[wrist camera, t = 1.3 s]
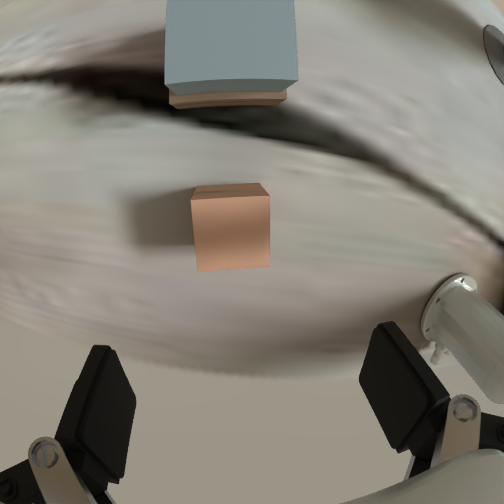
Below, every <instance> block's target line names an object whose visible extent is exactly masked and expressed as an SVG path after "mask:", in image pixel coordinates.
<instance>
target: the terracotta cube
mask: <svg viewBox="0 0 504 504" xmlns="http://www.w3.org/2000/svg"><path fill="white" fill-rule="evenodd" d="M191 211H192V222H193V233H194V243H195V252H196V261H197V270H198V271H214V270H230V269H245V268H260V267H270V195H269V194H268V193H267V192H266V191H265V189H264V188H263V187H262V186H261V184H260V183H252V184H230V185H213V186H198V187H196V189H195V192H194V194H193V196H192V198H191Z"/></svg>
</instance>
